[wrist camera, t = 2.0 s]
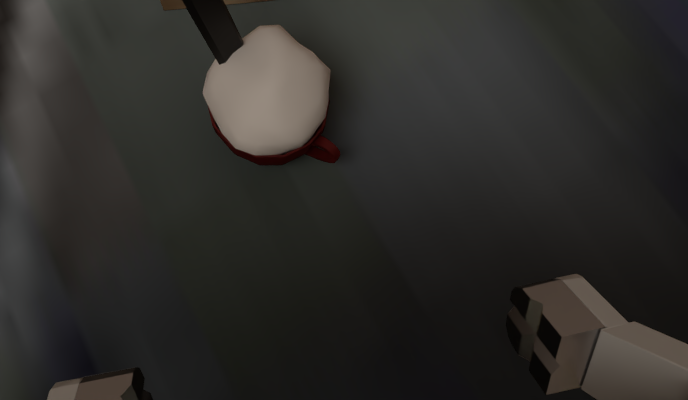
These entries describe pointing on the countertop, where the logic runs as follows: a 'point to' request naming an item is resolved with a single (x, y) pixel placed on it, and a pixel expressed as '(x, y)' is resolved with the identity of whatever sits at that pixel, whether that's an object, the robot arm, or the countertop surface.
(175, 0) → the oak compartment tray
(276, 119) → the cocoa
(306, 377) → the countertop surface
